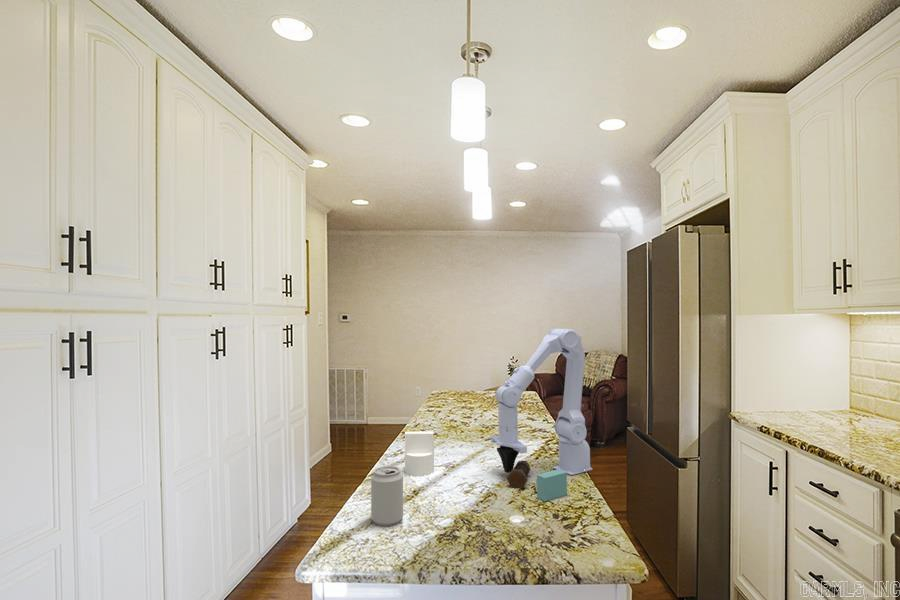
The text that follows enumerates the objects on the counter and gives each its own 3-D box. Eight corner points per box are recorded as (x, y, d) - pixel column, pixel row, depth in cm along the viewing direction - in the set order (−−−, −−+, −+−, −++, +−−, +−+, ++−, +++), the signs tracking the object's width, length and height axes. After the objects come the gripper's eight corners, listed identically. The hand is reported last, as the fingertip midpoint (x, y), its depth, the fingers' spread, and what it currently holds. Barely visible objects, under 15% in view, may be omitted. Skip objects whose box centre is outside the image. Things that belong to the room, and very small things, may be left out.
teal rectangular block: (550, 487, 130) (550, 466, 130) (566, 494, 125) (566, 472, 125) (529, 494, 126) (529, 471, 126) (545, 501, 121) (544, 478, 121)
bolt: (526, 477, 144) (519, 494, 130) (512, 468, 146) (503, 483, 131) (536, 461, 144) (529, 476, 129) (521, 452, 145) (514, 465, 131)
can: (389, 530, 105) (389, 476, 106) (364, 522, 109) (364, 471, 110) (409, 517, 112) (409, 467, 112) (385, 511, 116) (385, 462, 116)
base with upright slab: (434, 466, 149) (433, 428, 150) (433, 476, 140) (433, 436, 141) (405, 466, 149) (405, 429, 150) (403, 476, 140) (403, 436, 141)
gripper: (482, 423, 144) (483, 467, 144) (513, 433, 132) (513, 481, 131) (500, 420, 148) (501, 463, 147) (532, 429, 136) (532, 476, 135)
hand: (508, 471), depth 140 cm, fingers closed
